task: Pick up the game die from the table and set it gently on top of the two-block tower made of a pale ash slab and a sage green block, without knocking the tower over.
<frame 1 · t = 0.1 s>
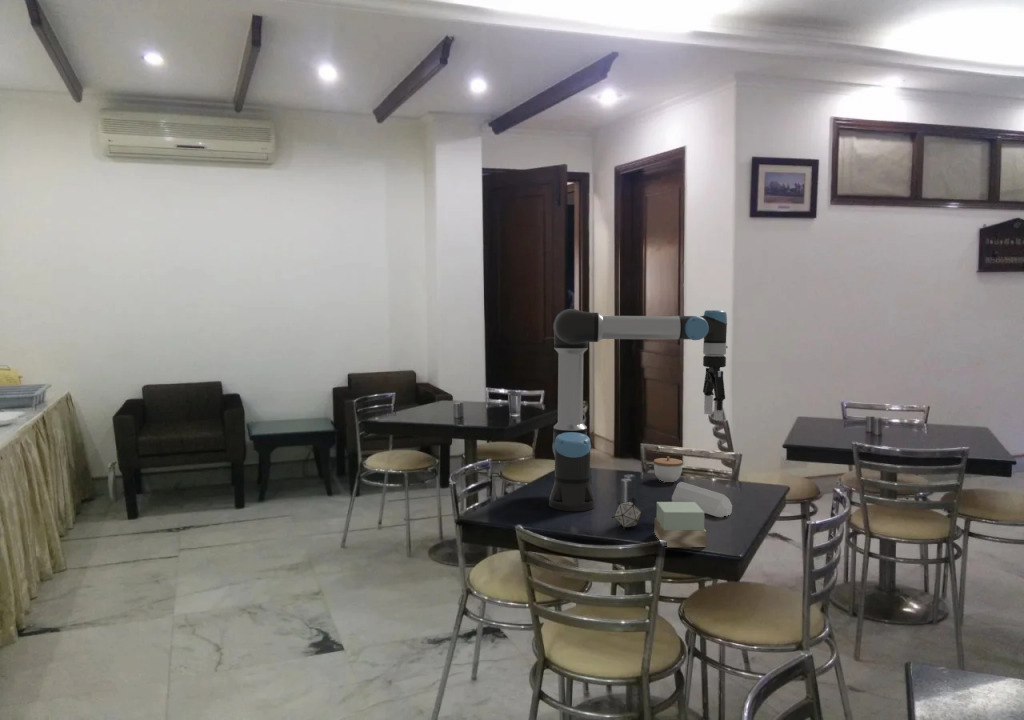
hand: (713, 416, 258), 28 cm above the table, tool pointing down, fingers open, 13 cm apart
lidded jar: (667, 481, 284), on the table
chamfered grey bar: (700, 509, 245), on the table
tower base block: (679, 541, 212), on the table, touching tower top block
tower top block: (679, 524, 211), point 5 cm above the table, touching tower base block
game die: (627, 528, 224), on the table
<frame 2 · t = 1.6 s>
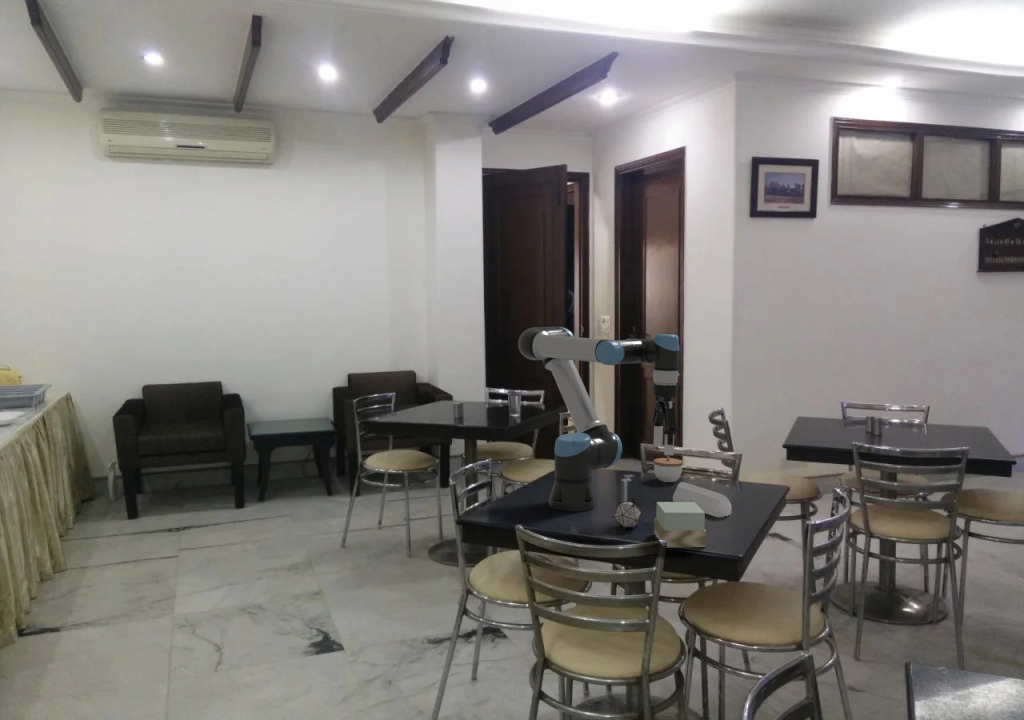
hand: (663, 450, 237), 20 cm above the table, tool pointing down, fingers open, 13 cm apart
nothing on the table moved.
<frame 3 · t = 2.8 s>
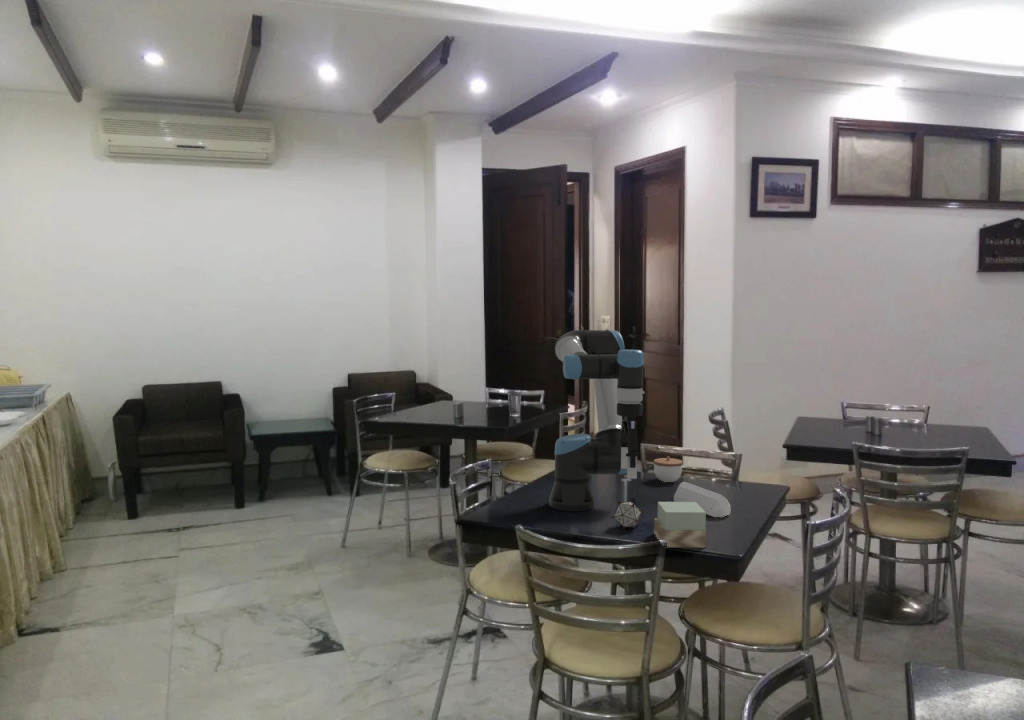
hand: (628, 473, 223), 16 cm above the table, tool pointing down, fingers open, 13 cm apart
tower base block: (679, 541, 212), on the table
tower top block: (680, 524, 211), point 5 cm above the table
everything else where it was.
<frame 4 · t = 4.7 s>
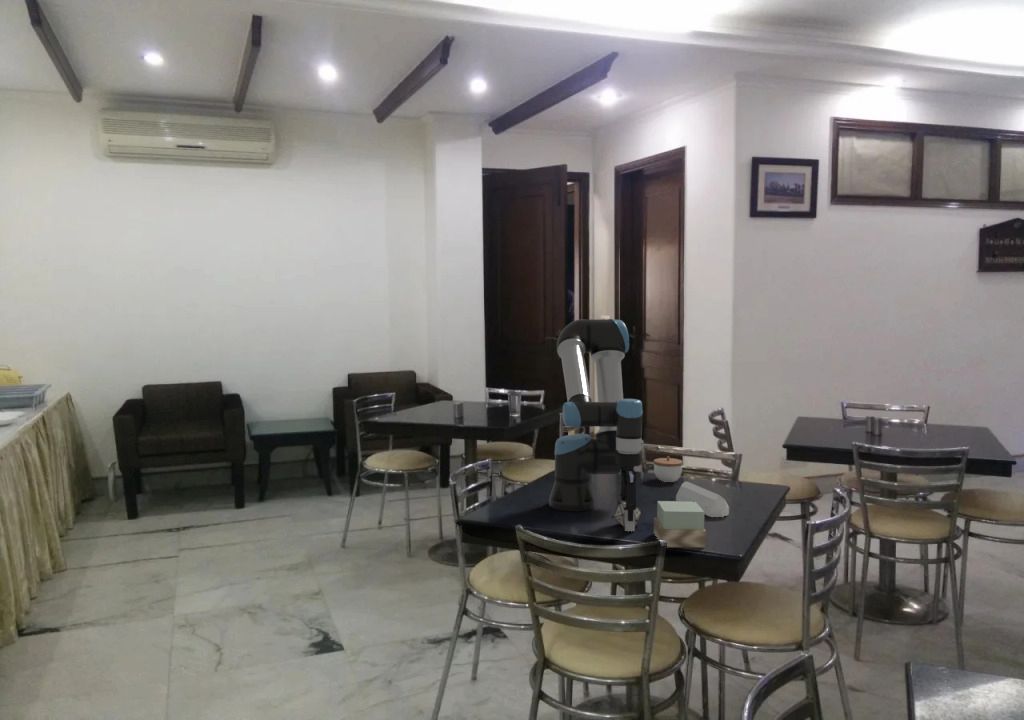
hand: (627, 526, 224), 0 cm above the table, tool pointing down, fingers open, 8 cm apart
tower base block: (678, 541, 212), on the table, touching tower top block
tower top block: (679, 523, 212), point 5 cm above the table, touching tower base block
game die: (627, 528, 224), on the table, touching gripper
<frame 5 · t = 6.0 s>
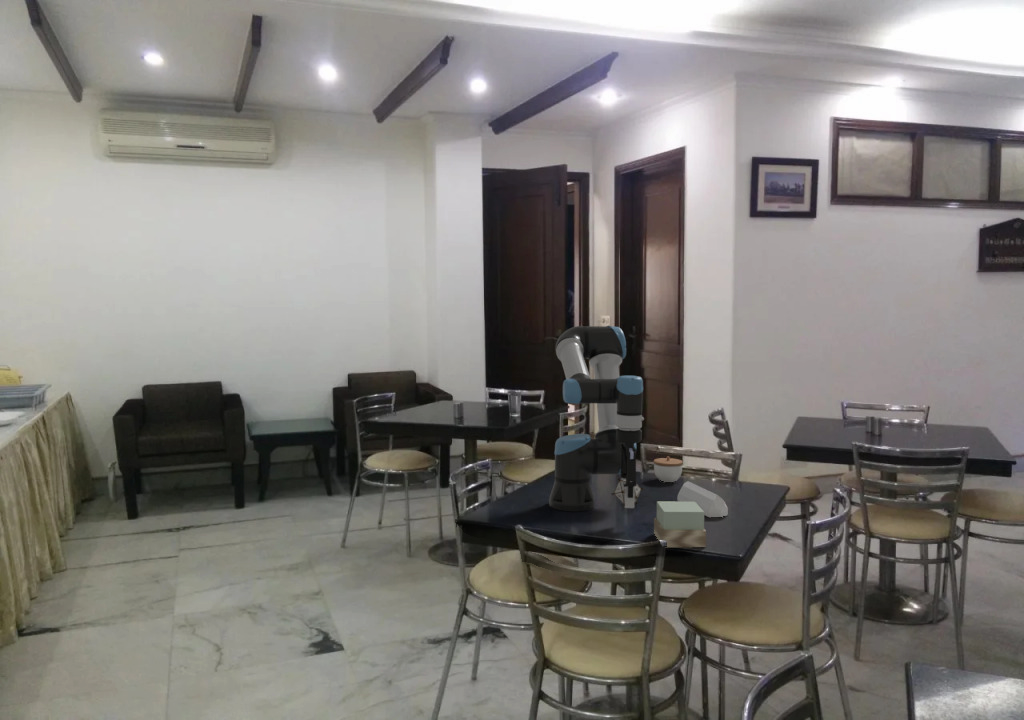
hand: (627, 503, 224), 7 cm above the table, tool pointing down, fingers closed on game die, 8 cm apart
game die: (627, 505, 224), point 7 cm above the table, touching gripper
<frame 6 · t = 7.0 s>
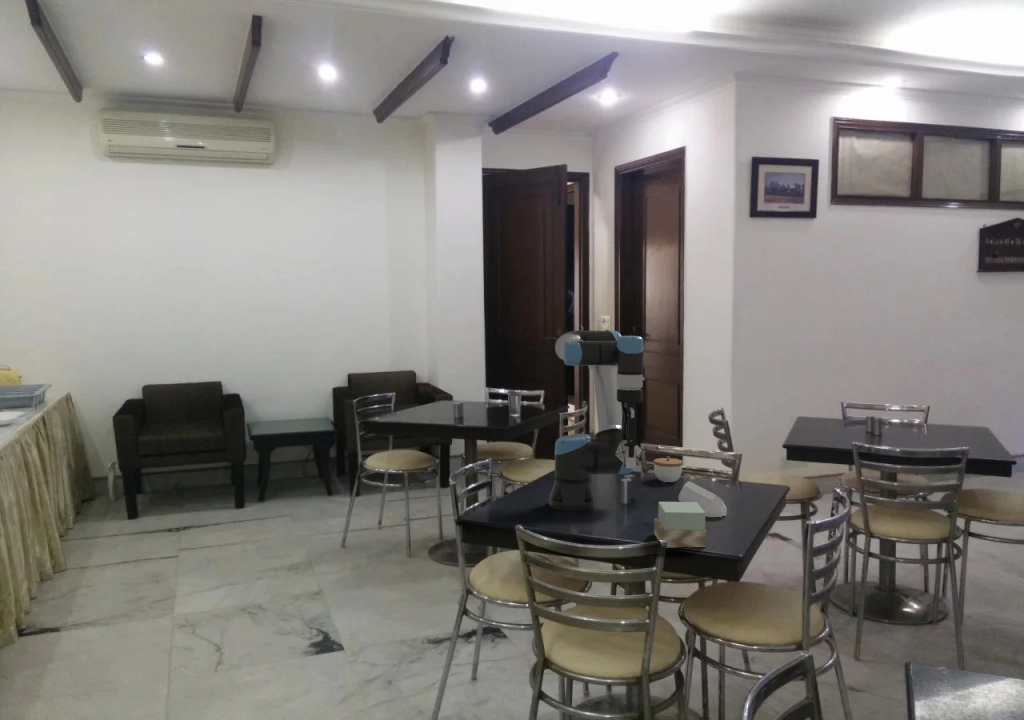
hand: (628, 464, 223), 19 cm above the table, tool pointing down, fingers closed on game die, 8 cm apart
game die: (628, 466, 223), point 18 cm above the table, touching gripper
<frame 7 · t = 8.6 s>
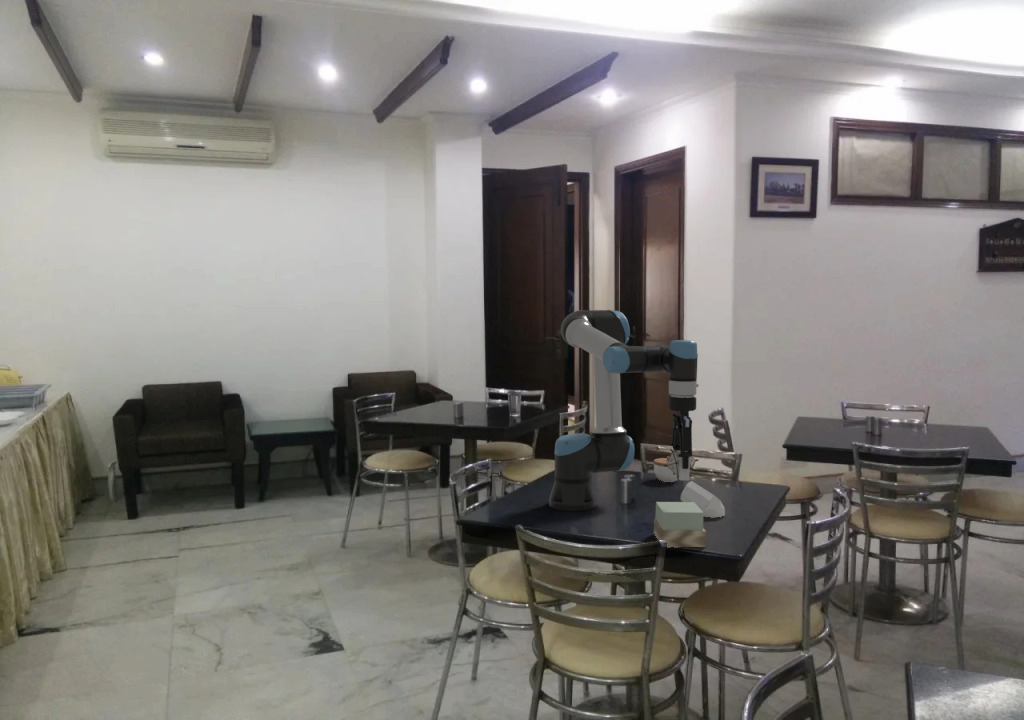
hand: (680, 476, 210), 18 cm above the table, tool pointing down, fingers closed on game die, 8 cm apart
game die: (680, 477, 210), point 18 cm above the table, touching gripper
when the fingers open (12 cm above the table, at t = 10.4 s): game die drops 2 cm, resting on tower top block.
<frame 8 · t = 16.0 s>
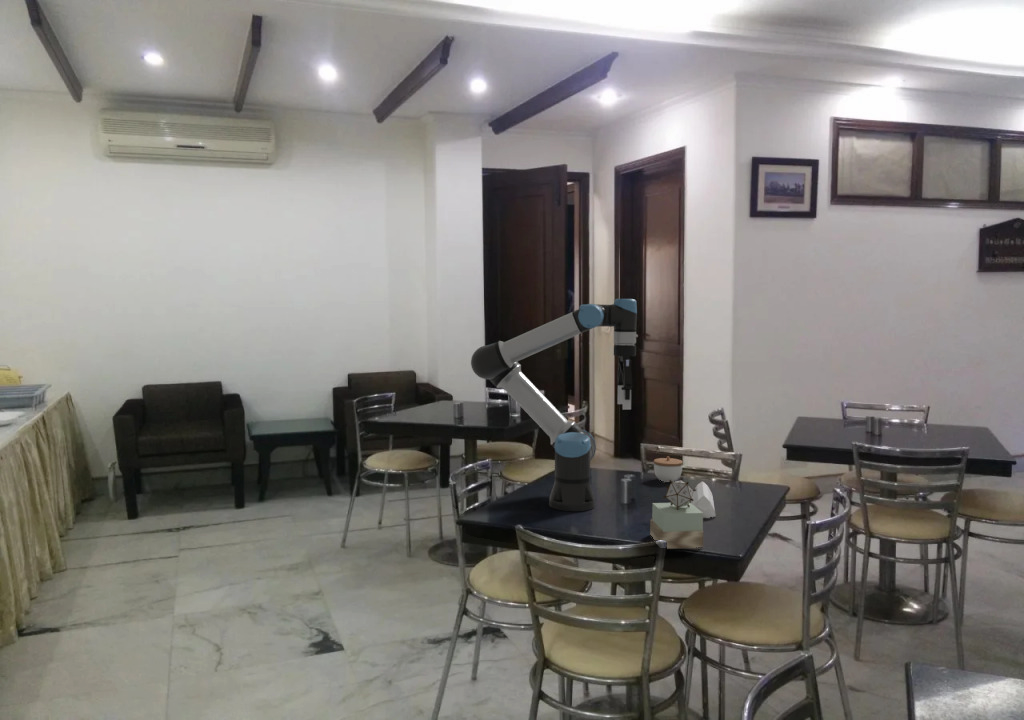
hand: (624, 406, 255), 32 cm above the table, tool pointing down, fingers open, 13 cm apart
tower base block: (675, 542, 211), on the table, touching tower top block
tower top block: (676, 525, 210), point 5 cm above the table, touching game die, tower base block
game die: (679, 508, 210), point 9 cm above the table, touching tower top block
at the end: game die 0.6 cm off-centre on the tower top block, point 4.8 cm above the tower top block's base; tower top block 0.2 cm off-centre on the tower base block, point 5.0 cm above the tower base block's base; tower top block tilted 0° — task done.
